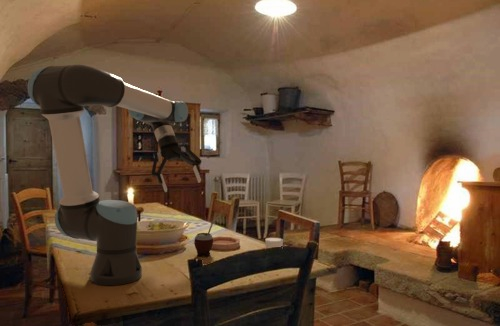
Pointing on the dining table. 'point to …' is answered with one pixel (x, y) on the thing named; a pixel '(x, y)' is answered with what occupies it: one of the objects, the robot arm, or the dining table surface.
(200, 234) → the mate gourd
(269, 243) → the white cup
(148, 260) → the dining table surface
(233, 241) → the ring saucer
